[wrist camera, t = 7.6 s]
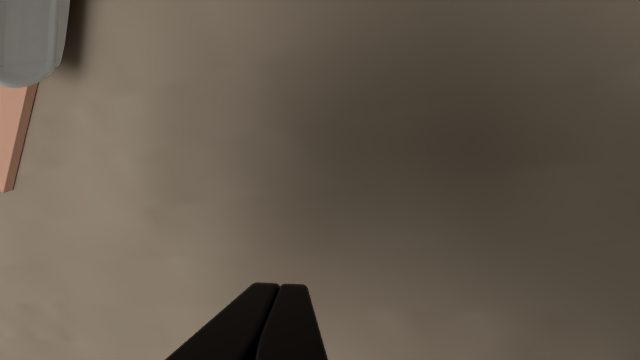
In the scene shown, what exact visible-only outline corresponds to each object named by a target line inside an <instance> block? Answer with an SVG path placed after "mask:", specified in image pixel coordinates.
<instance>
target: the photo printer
mask: <svg viewBox="0 0 640 360" xmlns="http://www.w3.org/2000/svg"><path fill="white" fill-rule="evenodd" d="M69 6H70V0H0V86H3V87H7V88H22V87H27V86H31V85H33V84H36V83H38V82H40V81H42V80H44V79H45V78H47V77H48V76H49V75H51V74H52V73H53V71H54V69H55V68H56V67H58V66H59V65H60V63H61V59H62V55H63V50H64V46H65V39H66V31H67V24H68V15H69Z"/></svg>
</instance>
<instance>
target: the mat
mask: <svg viewBox="0 0 640 360" xmlns="http://www.w3.org/2000/svg"><path fill="white" fill-rule="evenodd" d="M37 85H38V83H36V84H33V85H31V86H27V87H22V88H7V87H3V86H0V191H1V192H3V193H5V192H8V191H10V190H13V186H14V182H15V177H16V173H17V169H18V165H19V161H20V156H21V152H22V148H23V144H24V140H25V135H26V131H27V127H28V123H29V118H30V114H31V110H32V106H33V102H34V97H35V93H36V89H37Z"/></svg>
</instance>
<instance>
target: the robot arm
mask: <svg viewBox="0 0 640 360" xmlns="http://www.w3.org/2000/svg"><path fill="white" fill-rule="evenodd" d="M165 360H328V358H327V355H326V351H325V348H324V344H323V341H322V337H321V334H320V330H319V327H318V323H317V320H316V316H315V313H314V309H313V305H312V302H311V298H310V295H309V291H308V288H307V286H305V285H303V284H283V285H281V286H279V285H278V284H277V283H259V282H258V283H254V284H252V285H251V286H250V287H248V288H247V289H246V290H245V291H244V292H243V293H241V294H240V295H239V296H238V297H237V298H236V299H235V300H233V301H232V302H231V303H230V304H229V305H228V306H226V307H225V308H224V309H223V310H222V311H221V312H220V313H218V314H217V315H216V316H215V317H214V318H213V319H211V320H210V321H209V322H208V323H207V324H206V325H204V326H203V327H202V328H201V329H200V330H199V331H198V332H196V333H195V334H194V335H193V336H192V337H191V338H189V339H188V340H187V341H186V342H185V343H184V344H183V345H181V346H180V347H179V348H178V349H177V350H176V351H174V352H173V353H172V354H171V355H170V356H169V357H168V358H166V359H165Z"/></svg>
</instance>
